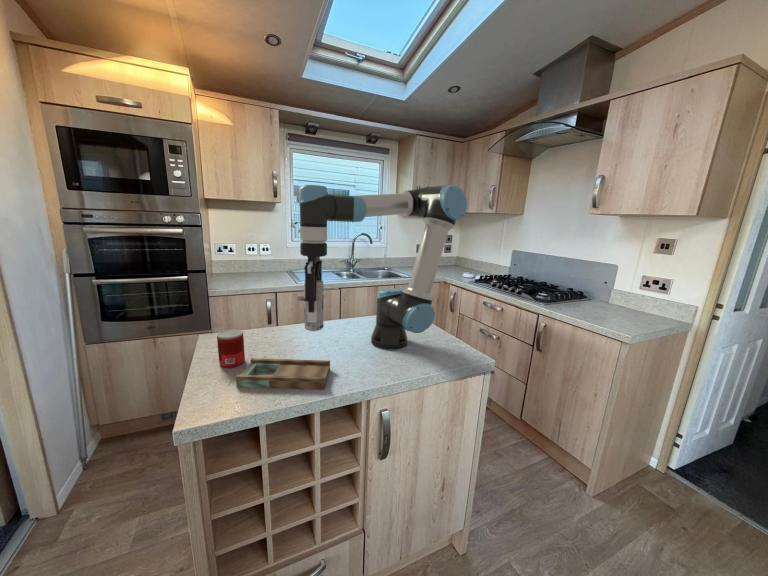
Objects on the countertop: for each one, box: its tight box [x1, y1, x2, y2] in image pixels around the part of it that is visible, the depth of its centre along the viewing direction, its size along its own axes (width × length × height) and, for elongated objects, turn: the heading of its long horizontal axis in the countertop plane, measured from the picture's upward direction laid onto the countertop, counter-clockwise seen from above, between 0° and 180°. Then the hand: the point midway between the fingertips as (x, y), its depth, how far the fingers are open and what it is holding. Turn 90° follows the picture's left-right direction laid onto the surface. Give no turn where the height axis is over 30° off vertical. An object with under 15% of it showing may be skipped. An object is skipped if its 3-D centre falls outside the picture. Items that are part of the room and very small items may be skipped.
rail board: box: [235, 357, 331, 391], centre depth 98 cm, size 26×12×4 cm, turn 91°
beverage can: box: [303, 279, 324, 332], centre depth 93 cm, size 6×6×15 cm
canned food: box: [216, 328, 246, 369], centre depth 105 cm, size 8×8×11 cm
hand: (314, 318), depth 94 cm, fingers closed on beverage can, 5 cm apart
